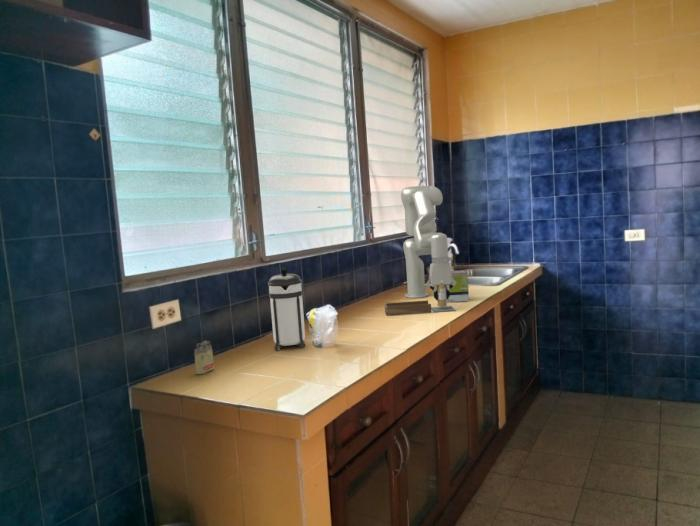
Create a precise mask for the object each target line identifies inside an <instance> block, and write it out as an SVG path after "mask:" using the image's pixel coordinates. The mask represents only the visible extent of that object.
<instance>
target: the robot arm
mask: <svg viewBox="0 0 700 526" xmlns="http://www.w3.org/2000/svg"><path fill="white" fill-rule="evenodd" d="M443 198H444V197H443V193H442V191H441V190H440V189H439V188H438V187H436V186H433V185H421V186H420V185H419V186H417V185H416V186H415V185H414V186H408V187H405V188H403V189H402V190H401V192H400V199H401V203H402V205H403V208H404V223H405V224H404V226H405V233H406V235H407V236H410V238H408V239H406V240H405V241H403V246H402V247H403V253H404V258H405V269H406V270H405V271H406V284H407V286H406V287H407V293H405V294H404V297H405V298H408V299H419V298H426V297H428V296H429V293H428V292H426V287H428V288H429V289H431V291H433V298H434V299H435V301H437V300H438V293H437V285H440V284H441V283H443V284H444V285H446V297H447V299H449V297H450V293H449V291H450V289H451V288H452V287H453V286H454V285H456V284H457V283H456V281H455V280H454V279H453V278H452V272H451V271H452V267H451V266H452V265H451V263H450V262H449V261H452V257H449V252H448V249H449V248H448V247H449V246H448V236H447V234H445V233H443V232H437V231H436V230H437V229H436V222H435V220H434V219H436V211H435V208H434V206H440V205H441V204H442V203H443ZM411 237H412V238H411ZM429 255H431V263H430V265H429V276H428V277H429V279H428V280H427V282H425V264H424V261H423V260H422V259H421V258H420V256H429ZM441 280H442V281H443V282H441ZM451 283H452V284H451ZM449 284H450V285H449Z"/></svg>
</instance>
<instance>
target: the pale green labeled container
mask: <svg viewBox="0 0 700 526" xmlns="http://www.w3.org/2000/svg"><path fill="white" fill-rule="evenodd" d="M212 347H213V346H212V345H211V341H210V340H206V339H205V340H204V341H202V342H200V343H199V342H198V343H196V348H194V365H195V373H196V375H203V374H206V373H209V372H210V371H213V370H215V365H214V355H213V353H214V352H213V348H212Z"/></svg>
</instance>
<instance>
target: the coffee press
mask: <svg viewBox="0 0 700 526" xmlns="http://www.w3.org/2000/svg"><path fill="white" fill-rule="evenodd" d="M280 272H281V274H276V275H272V276H271V277H269V280H268V282H267V285H268V291H269V292H268V296H269V302H270V314H271V315H270V316H271V324H272V325H271V326H272V337H273V342H274V344H275V345H274V350H275V351H280V350H281V348H282V347H283V346H285V347H287V346H294V345H297V346H298V347H299V348H301V349H304V348H306V344H305V339H306V330H305V329H306V327H305V316H304V314H305V313H304V304H303V288H302V283H303V280H302V279H301V277H300V275H298V274H296V273H287V272H288V270H287V268H286V267H281V270H280Z"/></svg>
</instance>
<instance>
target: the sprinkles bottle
mask: <svg viewBox="0 0 700 526" xmlns="http://www.w3.org/2000/svg"><path fill="white" fill-rule="evenodd" d="M441 282H443V281H442V280H441ZM436 290H437V293H438V300H436V301H437V302H436V303H437V306H436V307H445V306H448V304H447V303H448V302H447V300H446V299H447V297H446V285H444V284H443V283H441V284H440V285H437V289H436Z"/></svg>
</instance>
